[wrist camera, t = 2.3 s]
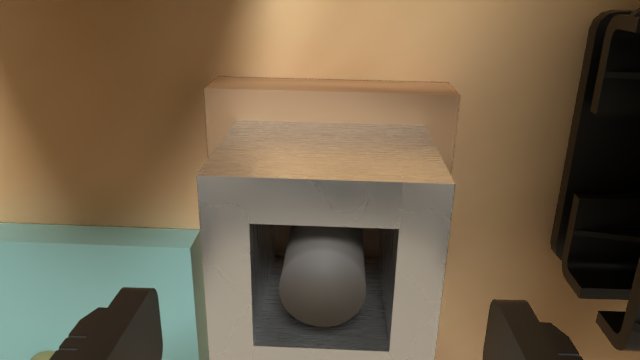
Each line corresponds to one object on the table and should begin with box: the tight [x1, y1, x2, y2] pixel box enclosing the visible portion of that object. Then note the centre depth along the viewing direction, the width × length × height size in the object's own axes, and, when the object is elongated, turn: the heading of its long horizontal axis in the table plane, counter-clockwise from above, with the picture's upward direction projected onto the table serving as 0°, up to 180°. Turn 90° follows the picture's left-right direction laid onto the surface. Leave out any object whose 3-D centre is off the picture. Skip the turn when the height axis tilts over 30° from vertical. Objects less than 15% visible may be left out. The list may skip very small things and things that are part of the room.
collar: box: [197, 120, 455, 360], centre depth 16 cm, size 6×6×5 cm
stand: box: [204, 77, 460, 327], centre depth 17 cm, size 8×8×7 cm
